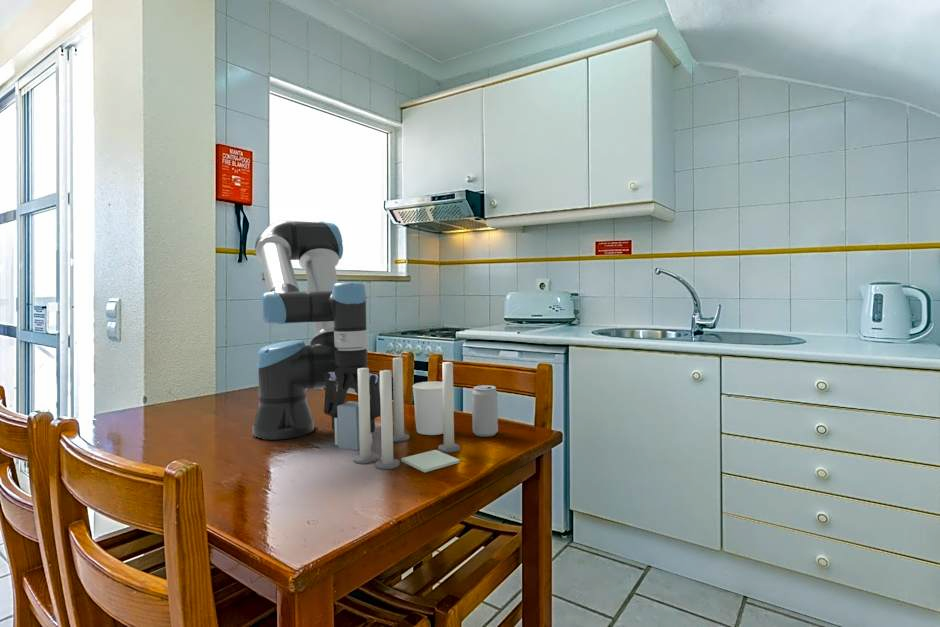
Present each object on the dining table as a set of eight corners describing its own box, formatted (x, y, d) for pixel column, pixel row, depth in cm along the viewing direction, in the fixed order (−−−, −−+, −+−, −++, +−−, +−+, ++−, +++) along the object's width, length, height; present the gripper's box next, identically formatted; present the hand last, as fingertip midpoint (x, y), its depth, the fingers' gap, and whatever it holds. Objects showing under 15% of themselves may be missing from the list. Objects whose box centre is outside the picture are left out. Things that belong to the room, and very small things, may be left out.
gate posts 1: (349, 462, 111) (346, 370, 110) (395, 435, 131) (393, 356, 130) (369, 464, 110) (367, 371, 109) (412, 436, 130) (411, 357, 128)
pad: (401, 461, 112) (401, 458, 112) (435, 452, 118) (435, 449, 117) (424, 472, 105) (424, 469, 105) (459, 462, 110) (459, 459, 110)
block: (338, 448, 122) (337, 405, 121) (350, 441, 126) (349, 401, 126) (357, 450, 120) (355, 407, 119) (368, 443, 125) (367, 402, 124)
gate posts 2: (371, 464, 110) (368, 370, 109) (451, 444, 123) (449, 360, 122) (383, 471, 106) (380, 374, 105) (464, 449, 119) (462, 362, 118)
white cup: (456, 427, 138) (456, 382, 137) (443, 437, 129) (442, 389, 128) (423, 424, 141) (422, 380, 140) (407, 434, 132) (406, 387, 131)
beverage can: (495, 438, 127) (495, 389, 127) (470, 437, 129) (469, 389, 128) (499, 430, 134) (499, 384, 133) (475, 429, 135) (474, 384, 134)
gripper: (305, 349, 122) (308, 446, 123) (380, 351, 115) (383, 453, 116) (324, 345, 129) (327, 437, 130) (396, 347, 122) (398, 443, 123)
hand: (353, 444), depth 123 cm, fingers open, 7 cm apart
